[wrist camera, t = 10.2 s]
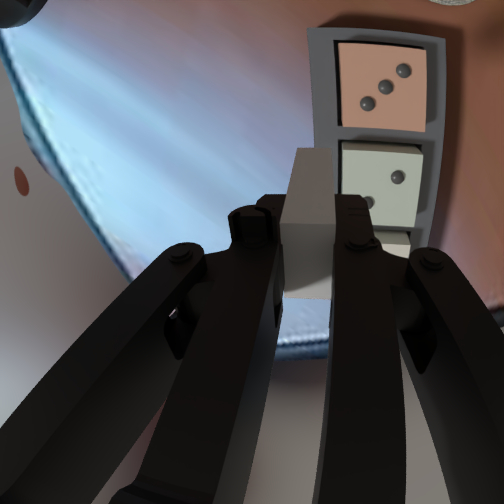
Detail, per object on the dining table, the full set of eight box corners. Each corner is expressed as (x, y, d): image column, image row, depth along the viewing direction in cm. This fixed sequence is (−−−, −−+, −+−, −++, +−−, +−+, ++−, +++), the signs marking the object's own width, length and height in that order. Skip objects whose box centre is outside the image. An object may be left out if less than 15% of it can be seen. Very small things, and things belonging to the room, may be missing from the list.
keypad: (316, 272, 40) (314, 294, 37) (309, 31, 25) (306, 27, 21) (409, 276, 37) (414, 298, 34) (431, 39, 22) (445, 38, 19)
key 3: (341, 117, 27) (343, 127, 24) (337, 45, 23) (339, 42, 20) (413, 122, 26) (425, 132, 22) (413, 50, 22) (426, 50, 18)
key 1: (337, 274, 37) (336, 298, 34) (340, 221, 33) (340, 243, 30) (394, 276, 35) (399, 300, 32) (403, 224, 32) (411, 246, 28)
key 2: (340, 204, 32) (341, 224, 29) (341, 138, 28) (343, 150, 25) (406, 207, 30) (414, 228, 27) (412, 142, 27) (423, 155, 23)
